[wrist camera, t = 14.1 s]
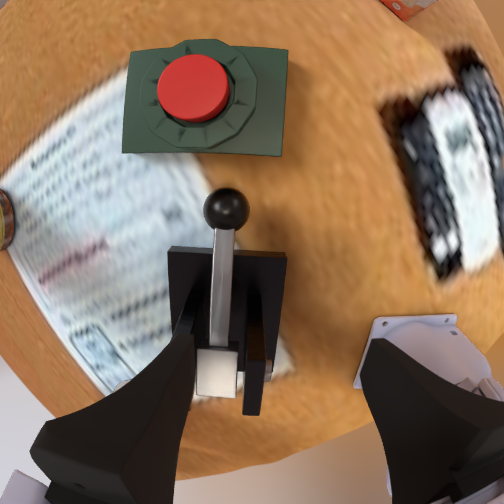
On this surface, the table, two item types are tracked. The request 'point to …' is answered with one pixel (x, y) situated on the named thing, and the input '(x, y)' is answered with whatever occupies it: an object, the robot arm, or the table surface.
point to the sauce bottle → (5, 221)
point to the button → (193, 88)
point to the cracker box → (407, 7)
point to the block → (223, 124)
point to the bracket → (232, 309)
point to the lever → (221, 296)
